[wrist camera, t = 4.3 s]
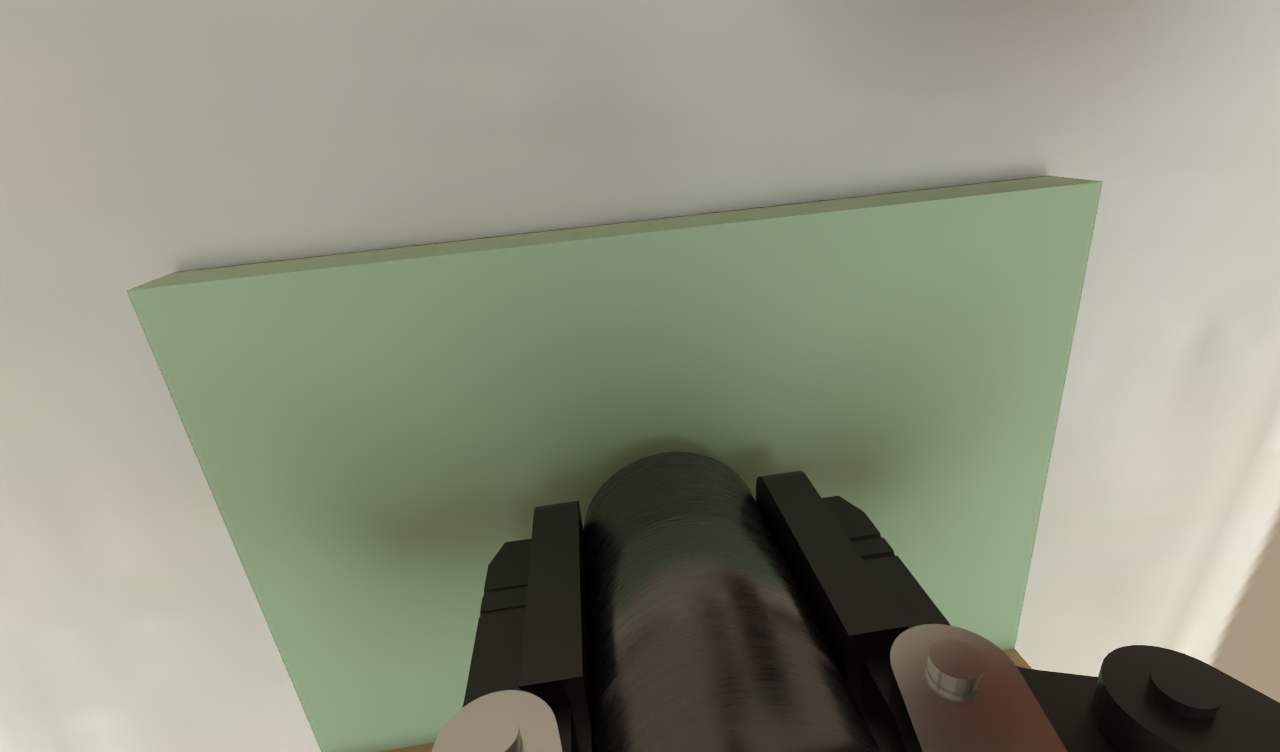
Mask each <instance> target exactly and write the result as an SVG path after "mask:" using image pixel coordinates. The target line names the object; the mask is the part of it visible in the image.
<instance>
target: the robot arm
mask: <svg viewBox="0 0 1280 752" xmlns="http://www.w3.org/2000/svg"><path fill="white" fill-rule="evenodd" d="M756 503H757V505H758V507H759V509H760V511H761V513H762V515H763V517H764V519H765V521H766V523H767V525H768V527H769V529H770V531H771V533H772V535H773V537H774V539H775V541H776V543H777V545H778V547H779V549H780V551H781V553H782V555H783V557H784V559H785V561H786V563H787V565H788V567H789V569H790V571H791V573H792V575H793V577H794V579H795V581H796V583H797V585H798V587H799V589H800V591H801V593H802V595H803V597H804V599H805V601H806V603H807V605H808V607H809V609H810V611H811V613H812V615H813V617H814V619H815V621H816V623H817V625H818V627H819V629H820V631H821V633H822V635H823V637H824V639H825V641H826V643H827V645H828V647H829V649H830V651H831V653H832V655H833V657H834V659H835V661H836V663H837V665H838V667H839V669H840V671H841V673H842V675H843V677H844V679H845V681H846V683H847V685H848V687H849V689H850V691H851V693H852V695H853V697H854V699H855V701H856V703H857V705H858V707H859V709H860V711H861V713H862V715H863V717H864V719H865V721H866V723H867V725H868V727H869V729H870V731H871V733H872V735H873V737H874V739H875V741H876V743H877V745H878V747H879V749H880V751H881V752H1280V703H1278V702H1277V701H1275V700H1273V699H1271V698H1269V697H1268V696H1266V695H1264V694H1262V693H1260V692H1258V691H1256V690H1255V689H1253V688H1251V687H1249V686H1247V685H1245V684H1243V683H1242V682H1240V681H1238V680H1236V679H1234V678H1232V677H1231V676H1229V675H1227V674H1225V673H1223V672H1221V671H1219V670H1218V669H1216V668H1214V667H1212V666H1210V665H1208V664H1206V663H1204V662H1202V661H1200V660H1198V659H1195V658H1193V657H1190V656H1188V655H1185V654H1183V653H1179V652H1176V651H1173V650H1169V649H1165V648H1160V647H1154V646H1146V645H1132V646H1125V647H1121V648H1118V649H1115V650H1114V651H1112V652H1111V653H1109V654H1108V655H1107V656H1106V657H1105V659H1104V661H1103V663H1102V666H1101V670H1100V673H1099V677H1092V676H1083V675H1074V674H1066V673H1057V672H1049V671H1040V670H1034V669H1028V668H1023V667H1019V666H1016V665H1015V664H1014V662H1013V661H1012V660H1011V659H1010V658H1009V657H1008V656H1007V654H1006V653H1005V652H1003V651H1002V650H1001V649H1000V648H999V647H997V646H996V645H995V644H993V643H992V642H990V641H989V640H987V639H986V638H984V637H982V636H980V635H978V634H976V633H973V632H971V631H968V630H966V629H963V628H959V627H955V626H951V625H950V623H949V622H948V621H947V619H946V618H945V617H944V616H943V614H942V613H941V612H940V610H939V609H938V608H937V606H936V605H935V604H934V603H933V601H932V600H931V599H930V597H929V596H928V595H927V593H926V592H925V591H924V589H923V588H922V587H921V586H920V584H919V583H918V582H917V580H916V579H915V578H914V576H913V575H912V574H911V572H910V571H909V570H908V569H907V567H906V566H905V565H904V563H903V562H902V561H901V559H900V558H899V557H898V556H895V554H894V550H893V549H892V548H891V546H890V545H889V544H888V542H887V541H886V540H885V538H884V537H883V538H881V535H880V532H879V531H878V529H877V528H876V527H875V525H874V524H873V523H872V521H871V520H870V519H869V518H868V516H867V515H866V514H865V512H864V511H862V510H860V509H859V508H857V507H856V506H854V505H852V504H851V503H849V502H848V501H846V500H844V499H843V498H841V497H840V496H832V497H825V498H821V496H820V495H819V493H818V492H817V491H816V489H815V488H814V486H813V485H812V483H811V482H810V480H809V479H808V477H807V476H806V474H805V473H804V472H803V471H794V472H787V473H779V474H772V475H765V476H759V477H758V478H757V480H756ZM591 731H592V726H591V701H590V676H589V652H588V627H587V602H586V578H585V553H584V530H583V523H582V516H581V510H580V505H579V501H574V502H566V503H559V504H552V505H545V506H537V507H535V508H534V516H533V527H532V539H524V540H517V541H510V542H505V543H504V544H503V546H502V547H501V549H500V550H499V551H498V553H497V554H496V555H495V557H494V558H493V560H492V561H491V562H490V564H489V565H488V569H487V575H486V581H485V586H484V596H483V597H482V603H481V609H480V617H479V620H478V625H477V631H476V637H475V642H474V648H473V653H472V659H471V665H470V670H469V676H468V681H467V687H466V693H465V698H464V703H463V707H462V709H460V710H459V711H458V712H457V713H456V714H455V715H454V716H453V717H452V718H451V719H450V720H449V721H448V722H447V723H446V725H445V726H444V727H443V729H442V730H441V732H440V733H439V735H438V737H437V739H436V741H435V743H434V746H433V749H432V752H592V743H591Z"/></svg>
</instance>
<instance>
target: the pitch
mask: <svg viewBox="0 0 1280 752" xmlns="http://www.w3.org/2000/svg"><path fill="white" fill-rule="evenodd" d="M1101 187H1102V181H1092V180H1083V179H1073V178H1064V177H1054V176H1043V177H1034V178H1025V179H1016V180H1007V181H998V182H989V183H980V184H971V185H962V186H953V187H944V188H935V189H926V190H917V191H908V192H899V193H890V194H880V195H871V196H862V197H853V198H844V199H835V200H826V201H817V202H808V203H799V204H790V205H781V206H772V207H763V208H754V209H745V210H736V211H727V212H717V213H708V214H699V215H690V216H681V217H672V218H663V219H654V220H645V221H636V222H627V223H618V224H609V225H600V226H591V227H582V228H573V229H564V230H555V231H545V232H536V233H527V234H518V235H509V236H500V237H491V238H482V239H473V240H464V241H455V242H446V243H437V244H428V245H419V246H410V247H401V248H392V249H383V250H373V251H364V252H355V253H346V254H337V255H328V256H319V257H310V258H301V259H292V260H283V261H274V262H265V263H256V264H247V265H238V266H229V267H220V268H210V269H201V270H192V271H183V272H175V273H172V274H170V275H167V276H164V277H162V278H159V279H156V280H154V281H151V282H148V283H146V284H143V285H140V286H138V287H135V288H132V289H130V290H127V292H128V295H129V297H130V300H131V302H132V304H133V307H134V309H135V311H136V314H137V316H138V319H139V321H140V323H141V326H142V328H143V330H144V333H145V335H146V337H147V340H148V342H149V345H150V347H151V349H152V352H153V354H154V356H155V359H156V361H157V363H158V366H159V368H160V371H161V373H162V375H163V378H164V380H165V382H166V385H167V387H168V390H169V392H170V394H171V397H172V399H173V401H174V404H175V406H176V408H177V411H178V413H179V416H180V418H181V420H182V423H183V425H184V427H185V430H186V432H187V434H188V437H189V439H190V442H191V444H192V446H193V449H194V451H195V453H196V456H197V458H198V461H199V463H200V465H201V468H202V470H203V472H204V475H205V477H206V479H207V482H208V484H209V487H210V489H211V491H212V494H213V496H214V498H215V501H216V503H217V505H218V508H219V510H220V513H221V515H222V517H223V520H224V522H225V524H226V527H227V529H228V532H229V534H230V536H231V539H232V541H233V543H234V546H235V548H236V550H237V553H238V555H239V558H240V560H241V562H242V565H243V567H244V569H245V572H246V574H247V576H248V579H249V581H250V584H251V586H252V588H253V591H254V593H255V595H256V598H257V600H258V603H259V605H260V607H261V610H262V612H263V614H264V617H265V619H266V621H267V624H268V626H269V629H270V631H271V633H272V636H273V638H274V640H275V643H276V645H277V647H278V650H279V652H280V655H281V657H282V659H283V662H284V664H285V666H286V669H287V671H288V673H289V676H290V678H291V681H292V683H293V685H294V688H295V690H296V692H297V695H298V697H299V700H300V702H301V704H302V707H303V709H304V711H305V714H306V716H307V718H308V721H309V723H310V726H311V728H312V730H313V733H314V735H315V737H316V740H317V742H318V744H319V747H320V749H321V752H432V749H433V746H434V743H435V741H436V739H437V737H438V735H439V733H440V732H441V730H442V729H443V727H444V726H445V725H446V723H447V722H448V721H449V720H450V719H451V718H452V717H453V716H454V715H455V714H456V713H457V712H458V711H459V710H460V709H462V707H463V703H464V698H465V693H466V687H467V681H468V676H469V670H470V665H471V659H472V653H473V648H474V642H475V637H476V631H477V625H478V620H479V617H480V609H481V603H482V597H483V596H484V586H485V581H486V575H487V569H488V565H489V564H490V562H491V561H492V560H493V558H494V557H495V555H496V554H497V553H498V551H499V550H500V549H501V547H502V546H503V544H504V543H505V542H510V541H517V540H524V539H532V527H533V516H534V508H535V507H537V506H545V505H552V504H559V503H566V502H574V501H579V505H580V510H581V516H582V523H583V529H584V520H585V516H586V512H587V510H588V507H589V505H590V502H591V501H592V499H593V497H594V496H595V494H596V493H597V491H598V490H599V489H600V487H601V486H602V485H603V484H604V483H605V482H606V481H607V480H608V479H609V478H610V477H611V476H612V475H614V474H615V473H616V472H617V471H619V470H620V469H622V468H623V467H625V466H627V465H629V464H630V463H632V462H635V461H637V460H639V459H642V458H645V457H648V456H651V455H655V454H660V453H667V452H690V453H696V454H701V455H705V456H708V457H711V458H714V459H716V460H718V461H720V462H722V463H724V464H725V465H727V466H729V467H730V468H731V469H733V470H734V471H735V472H736V473H737V474H738V475H739V476H740V477H741V478H742V479H743V480H744V481H745V483H746V485H747V486H748V488H749V489H750V491H751V493H752V495H753V497H754V499H755V501H756V480H757V478H758V477H759V476H765V475H772V474H779V473H787V472H794V471H803V472H804V473H805V474H806V476H807V477H808V479H809V480H810V482H811V483H812V485H813V486H814V488H815V489H816V491H817V492H818V493H819V495H820V496H821V498H825V497H832V496H840V497H841V498H843V499H844V500H846V501H848V502H849V503H851V504H852V505H854V506H856V507H857V508H859V509H860V510H862V511H864V512H865V514H866V515H867V516H868V518H869V519H870V520H871V521H872V523H873V524H874V525H875V527H876V528H877V529H878V531H879V532H880V535H881V538H883V537H884V538H885V540H886V541H887V542H888V544H889V545H890V546H891V548H892V549H893V550H894V554H895V556H898V557H899V558H900V559H901V561H902V562H903V563H904V565H905V566H906V567H907V569H908V570H909V571H910V572H911V574H912V575H913V576H914V578H915V579H916V580H917V582H918V583H919V584H920V586H921V587H922V588H923V589H924V591H925V592H926V593H927V595H928V596H929V597H930V599H931V600H932V601H933V603H934V604H935V605H936V606H937V608H938V609H939V610H940V612H941V613H942V614H943V616H944V617H945V618H946V619H947V621H948V622H949V623H950V625H951V626H955V627H959V628H963V629H966V630H968V631H971V632H973V633H976V634H978V635H980V636H982V637H984V638H986V639H987V640H989V641H990V642H992V643H993V644H995V645H996V646H997V647H999V648H1000V649H1001V650H1002V651H1003V652H1005V653H1006V654H1007V656H1008V657H1009V658H1010V659H1011V660H1012V661H1013V662H1014V664H1015V665H1016V666H1019V667H1023V668H1028V669H1032V668H1031V667H1030V666H1029V665H1028V664H1027V663H1026V661H1025V660H1024V659H1023V658H1022V657H1021V656H1020V654H1019V653H1018V652H1017V651H1016V650H1015V649H1014V647H1015V642H1016V637H1017V631H1018V626H1019V621H1020V616H1021V610H1022V605H1023V600H1024V594H1025V589H1026V584H1027V578H1028V573H1029V568H1030V563H1031V557H1032V552H1033V547H1034V541H1035V536H1036V531H1037V526H1038V520H1039V515H1040V510H1041V504H1042V499H1043V494H1044V488H1045V483H1046V478H1047V473H1048V467H1049V462H1050V457H1051V451H1052V446H1053V441H1054V436H1055V430H1056V425H1057V420H1058V414H1059V409H1060V404H1061V399H1062V393H1063V388H1064V383H1065V377H1066V372H1067V367H1068V361H1069V356H1070V351H1071V346H1072V340H1073V335H1074V330H1075V324H1076V319H1077V314H1078V309H1079V303H1080V298H1081V293H1082V287H1083V282H1084V277H1085V272H1086V266H1087V261H1088V256H1089V250H1090V245H1091V240H1092V234H1093V229H1094V224H1095V219H1096V213H1097V208H1098V203H1099V197H1100V192H1101Z"/></svg>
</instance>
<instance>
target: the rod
mask: <svg viewBox="0 0 1280 752" xmlns="http://www.w3.org/2000/svg"><path fill="white" fill-rule="evenodd" d="M583 530H584V553H585V578H586V602H587V627H588V652H589V676H590V701H591V726H592V731H591V743H592V752H881V751H880V749H879V747H878V745H877V743H876V741H875V739H874V737H873V735H872V733H871V731H870V729H869V727H868V725H867V723H866V721H865V719H864V717H863V715H862V713H861V711H860V709H859V707H858V705H857V703H856V701H855V699H854V697H853V695H852V693H851V691H850V689H849V687H848V685H847V683H846V681H845V679H844V677H843V675H842V673H841V671H840V669H839V667H838V665H837V663H836V661H835V659H834V657H833V655H832V653H831V651H830V649H829V647H828V645H827V643H826V641H825V639H824V637H823V635H822V633H821V631H820V629H819V627H818V625H817V623H816V621H815V619H814V617H813V615H812V613H811V611H810V609H809V607H808V605H807V603H806V601H805V599H804V597H803V595H802V593H801V591H800V589H799V587H798V585H797V583H796V581H795V579H794V577H793V575H792V573H791V571H790V569H789V567H788V565H787V563H786V561H785V559H784V557H783V555H782V553H781V551H780V549H779V547H778V545H777V543H776V541H775V539H774V537H773V535H772V533H771V531H770V529H769V527H768V525H767V523H766V521H765V519H764V517H763V515H762V513H761V511H760V509H759V507H758V505H757V503H756V501H755V499H754V497H753V495H752V493H751V491H750V489H749V488H748V486H747V485H746V483H745V481H744V480H743V479H742V478H741V477H740V476H739V475H738V474H737V473H736V472H735V471H734V470H733V469H731V468H730V467H729V466H727V465H725V464H724V463H722V462H720V461H718V460H716V459H714V458H711V457H708V456H705V455H701V454H696V453H690V452H667V453H660V454H655V455H651V456H648V457H645V458H642V459H639V460H637V461H635V462H632V463H630V464H629V465H627V466H625V467H623V468H622V469H620V470H619V471H617V472H616V473H615V474H614V475H612V476H611V477H610V478H609V479H608V480H607V481H606V482H605V483H604V484H603V485H602V486H601V487H600V489H599V490H598V491H597V493H596V494H595V496H594V497H593V499H592V501H591V502H590V505H589V507H588V510H587V512H586V516H585V520H584V529H583Z"/></svg>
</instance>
